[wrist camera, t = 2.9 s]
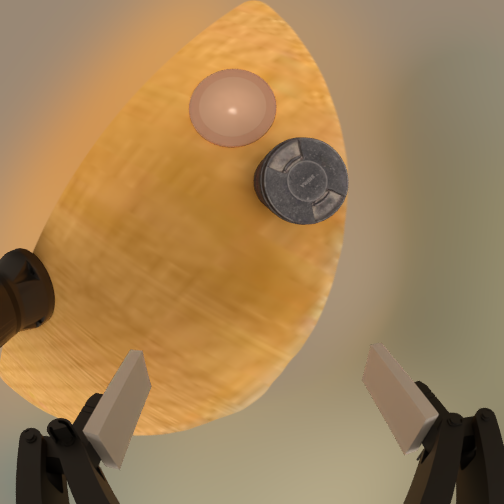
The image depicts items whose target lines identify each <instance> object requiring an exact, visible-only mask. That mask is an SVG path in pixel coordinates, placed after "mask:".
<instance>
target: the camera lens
mask: <svg viewBox="0 0 504 504" xmlns="http://www.w3.org/2000/svg"><path fill="white" fill-rule="evenodd" d="M254 188H255V191H256V194H257V196H258V198H259V199H260V201H261V202H262V203H263V204H264V205H265V206H266V207H267V208H269V209H270V210H271V211H272V212H273V213H274V214H276V215H277V216H278V217H280V218H281V219H283V220H285V221H288V222H290V223H295V224H302V225H305V224H315V223H318V222H321V221H324V220H326V219H327V218H329V217H330V216H332V215H333V214H334V213H335V212H336V211H337V210H338V209H339V208H340V206H341V205H342V203H343V202H344V200H345V197H346V195H347V191H348V174H347V169H346V166H345V164H344V162H343V160H342V158H341V157H340V156H339V154H338V153H337V152H336V151H335V150H334V149H333V148H332V147H331V146H330V145H328V144H326V143H325V142H323V141H320V140H317V139H313V138H293V139H289V140H286V141H284V142H282V143H280V144H278V145H277V146H276V147H274V148H273V149H272V150H271V151H270V152H269V153H268V154H267V155H266V157H265V158H264V159H263V160H262V161H261V163H260V164H259V165H258V167H257V169H256V171H255V175H254Z"/></svg>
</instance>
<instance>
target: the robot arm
mask: <svg viewBox="0 0 504 504" xmlns="http://www.w3.org/2000/svg"><path fill="white" fill-rule="evenodd" d="M53 309H54V292H53V287H52V284H51V281H50V278H49V276H48V273H47V271H46V269H45V268H44V266H43V264H42V263H41V262H40V260H39V259H38V258H37V257H36V256H35V255H34V254H33V253H31V252H30V251H28V250H26V249H21V248H19V249H15V250H12V251H10V252H8V253H6V254H5V255H4V256H3V257H2V258H1V259H0V347H2V346H3V345H4V344H5V343H6V342H7V341H9V340H10V339H11V338H12V337H13V336H14V335H15V334H17V333H18V332H20V331H24V330H28V329H33V328H37V327H39V326H41V325H43V324H44V323H45V322H46V321H47V320H48V319H49V318H50V317H51V315H52V313H53ZM362 381H363V383H364V384H365V386H366V388H367V389H368V391H369V393H370V395H371V396H372V398H373V400H374V401H375V403H376V405H377V407H378V409H379V410H380V412H381V414H382V415H383V417H384V419H385V421H386V423H387V424H388V426H389V428H390V430H391V432H392V433H393V435H394V437H395V439H396V441H397V442H398V444H399V446H400V448H401V449H402V451H403V453H404V455H406V454H409V453H412V452H414V451H417V450H418V448H419V447H420V445H421V444H423V446H424V449H423V451H422V452H421V454H420V455H419V457H418V458H417V460H419V459H420V461H419V464H418V467H417V470H416V473H415V475H414V478H413V481H412V484H411V486H410V489H409V492H408V494H407V497H406V499H405V501H404V504H450V503H451V500H452V496H453V492H454V487H455V484H456V504H504V445H503V441H502V438H501V433H500V430H499V426H498V423H497V419H496V416H495V414H494V412H493V411H492V410H490V409H488V408H481V409H479V410H478V411H477V413H476V414H475V416H473V417H466V418H463V417H462V416H461V415H459V414H457V413H449V412H448V411H447V410H446V409H445V407H444V406H443V405H442V404H441V402H440V401H439V400H438V399H437V397H435V395H434V394H433V393H432V392H431V390H430V389H429V388H428V386H427V385H425V384H424V383H422V382H420V381H417V382H413V380H412V379H411V378H410V377H409V375H408V374H407V373H406V372H405V370H404V369H403V368H402V367H401V366H400V365H399V363H398V362H397V361H396V360H395V358H394V357H393V356H392V355H391V353H390V352H389V351H388V350H387V349H386V348H385V346H384V345H383V344H382V343H377V344H371V345H370V350H369V354H368V358H367V362H366V366H365V370H364V374H363V378H362ZM150 389H151V384H150V380H149V376H148V372H147V368H146V364H145V360H144V356H143V351H139V350H130V351H129V353H128V354H127V356H126V358H125V359H124V361H123V362H122V364H121V366H120V367H119V369H118V371H117V372H116V374H115V375H114V377H113V379H112V380H111V382H110V384H109V385H108V387H107V389H106V391H105V392H104V394H99V393H95V394H94V395H92V396H91V397H90V398H89V399H88V400H87V402H86V404H85V406H84V407H83V408H82V410H81V412H80V413H79V415H78V417H77V418H76V420H75V422H74V423H73V425H72V424H71V422H70V421H68V420H67V419H63V418H58V419H55V420H52V421H51V422H50V423H49V425H48V426H47V432H48V434H49V435H50V437H48V436H42V435H41V433H40V432H39V431H38V430H37V429H35V428H28V429H26V430H24V431H23V432H22V433H21V435H20V440H19V448H18V458H17V472H16V504H69V497H68V489H67V482H68V485H69V487H70V489H71V492H72V495H73V497H74V499H75V502H76V504H120V503H119V502H118V500H117V498H116V497H115V495H114V493H113V491H112V489H111V487H110V485H109V484H108V482H107V480H106V478H105V476H104V474H103V472H102V470H101V468H100V467H99V463H100V461H101V460H102V462H103V463H104V465H105V466H108V467H111V468H115V469H118V470H120V468H121V464H122V462H123V459H124V456H125V453H126V451H127V448H128V445H129V442H130V440H131V437H132V435H133V432H134V429H135V427H136V424H137V422H138V419H139V416H140V414H141V411H142V409H143V406H144V404H145V401H146V399H147V396H148V394H149V391H150Z"/></svg>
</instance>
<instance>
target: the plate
mask: <svg viewBox="0 0 504 504" xmlns="http://www.w3.org/2000/svg"><path fill="white" fill-rule="evenodd" d="M189 113H190V118H191V121H192V124H193V126H194V127H195V129H196V130H197V132H198V133H199V134H200V135H201V136H202V137H203V138H205V139H206V140H208V141H209V142H211V143H213V144H216V145H219V146H224V147H240V146H244V145H248V144H250V143H252V142H255V141H256V140H258V139H259V138H261V137H262V136H263V135H264V134H265V133H266V132H267V131H268V129H269V128H270V126H271V125H272V123H273V120H274V118H275V114H276V100H275V96H274V94H273V91H272V90H271V88H270V87H269V85H268V84H267V83H266V82H265V81H264V80H263V79H262V78H260V77H259V76H257V75H256V74H254V73H251V72H249V71H245V70H240V69H227V70H222V71H218V72H216V73H213V74H211V75H210V76H208V77H206V78H205V79H204V80H203V81H201V82H200V83H199V85H198V86H197V87H196V88H195V90H194V92H193V94H192V96H191V99H190V104H189Z"/></svg>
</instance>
